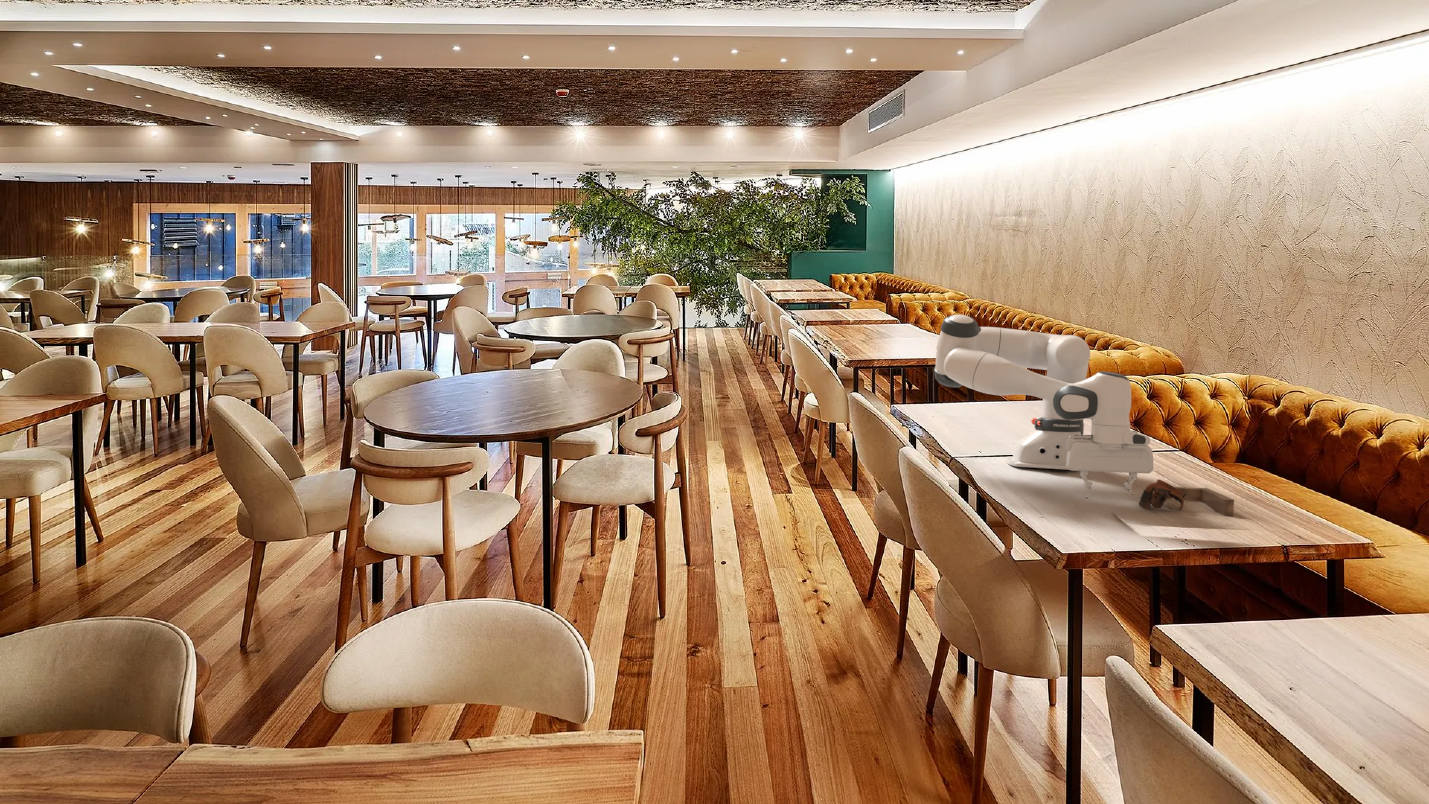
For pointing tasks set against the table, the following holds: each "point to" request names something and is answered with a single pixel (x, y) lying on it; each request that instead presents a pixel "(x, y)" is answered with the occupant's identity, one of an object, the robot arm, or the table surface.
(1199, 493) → the dock
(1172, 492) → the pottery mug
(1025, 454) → the robot arm
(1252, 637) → the table surface
